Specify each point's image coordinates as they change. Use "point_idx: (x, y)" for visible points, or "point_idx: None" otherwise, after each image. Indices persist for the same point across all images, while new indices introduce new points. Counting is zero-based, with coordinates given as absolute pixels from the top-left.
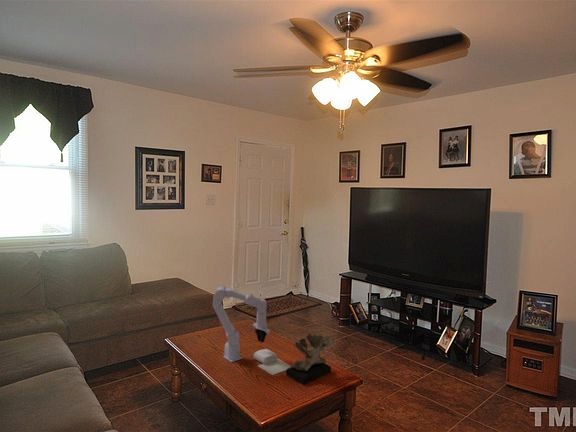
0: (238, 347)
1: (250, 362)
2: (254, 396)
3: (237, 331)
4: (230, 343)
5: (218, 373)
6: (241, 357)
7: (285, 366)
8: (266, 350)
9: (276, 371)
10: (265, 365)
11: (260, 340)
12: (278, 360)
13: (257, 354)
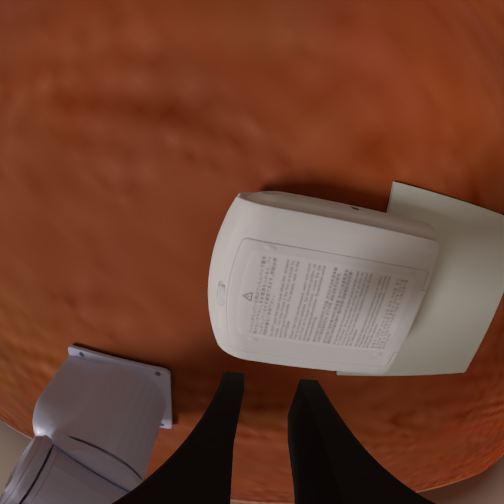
0: (141, 457)
1: (256, 370)
2: (445, 464)
3: (21, 496)
4: None
5: (231, 486)
6: (157, 371)
7: (494, 251)
8: (298, 253)
9: (471, 336)
10: None
11: (293, 445)
12: (420, 209)
13: (282, 363)
